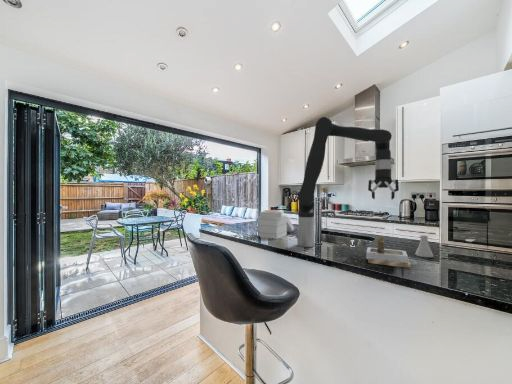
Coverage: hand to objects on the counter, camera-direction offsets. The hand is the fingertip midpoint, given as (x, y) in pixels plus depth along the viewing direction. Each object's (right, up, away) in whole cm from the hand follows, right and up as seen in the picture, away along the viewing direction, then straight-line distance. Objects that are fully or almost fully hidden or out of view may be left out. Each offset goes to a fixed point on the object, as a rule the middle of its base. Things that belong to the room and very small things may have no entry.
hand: (383, 199), depth 126 cm
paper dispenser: (-53, -28, +48) cm, 77 cm away
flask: (+15, -28, -9) cm, 33 cm away
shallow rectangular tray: (-8, -27, -17) cm, 33 cm away
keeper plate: (-7, -28, -18) cm, 34 cm away
